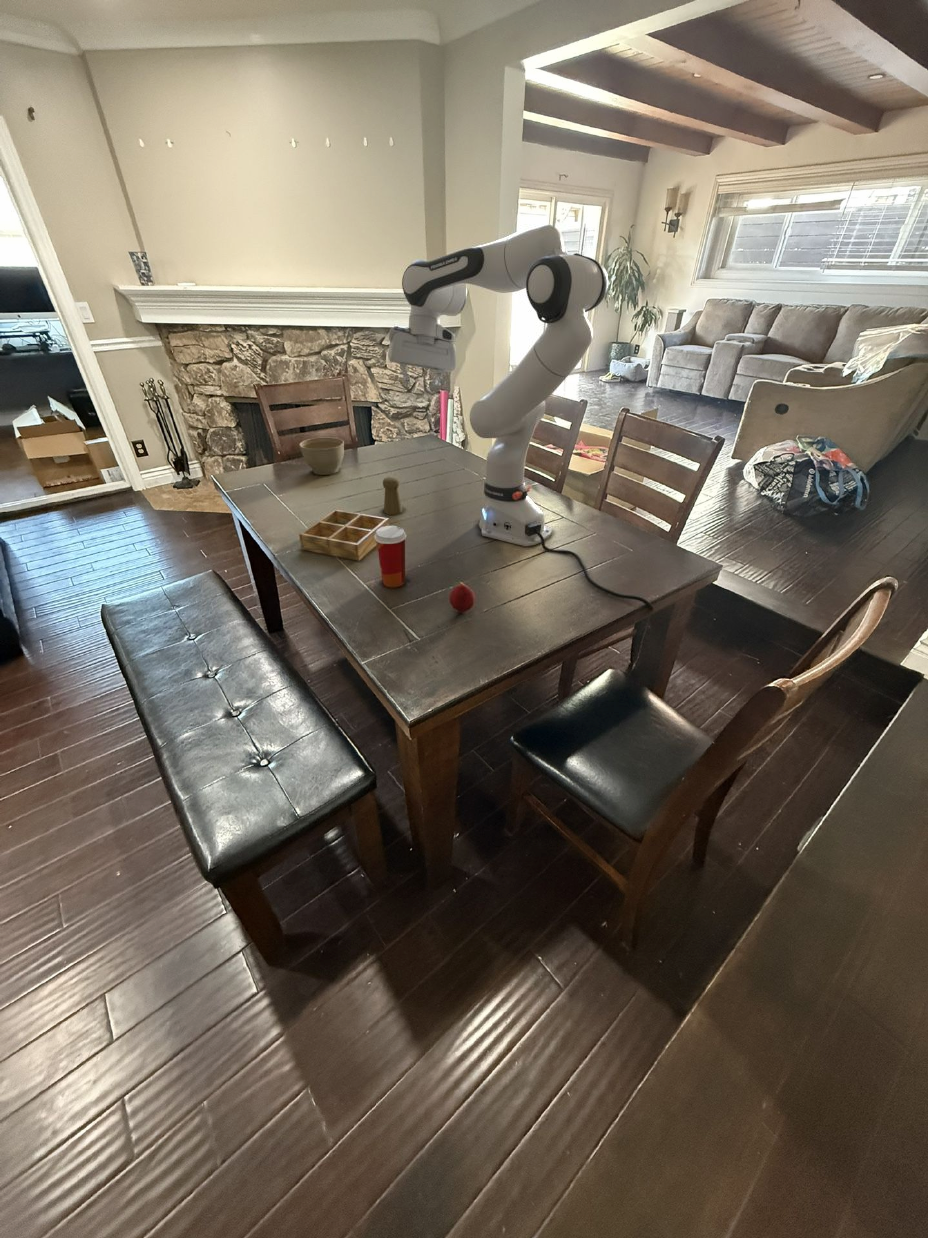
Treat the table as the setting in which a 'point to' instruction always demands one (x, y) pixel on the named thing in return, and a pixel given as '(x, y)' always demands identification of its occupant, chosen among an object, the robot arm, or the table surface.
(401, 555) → the paper cup
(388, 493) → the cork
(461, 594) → the onion
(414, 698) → the table surface
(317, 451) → the planter bowl
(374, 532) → the wooden compartment tray
